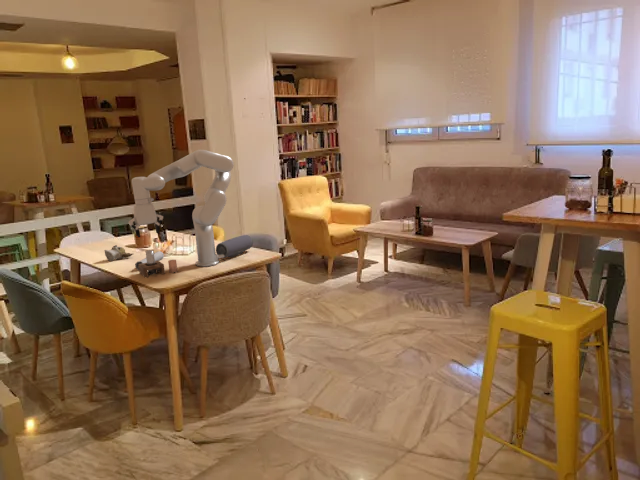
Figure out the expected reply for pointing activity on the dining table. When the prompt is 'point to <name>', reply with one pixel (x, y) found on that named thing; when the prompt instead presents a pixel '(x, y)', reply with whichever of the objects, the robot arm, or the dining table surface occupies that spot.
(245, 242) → the bluetooth speaker
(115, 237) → the dining table surface
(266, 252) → the dining table surface
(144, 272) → the walnut bridge
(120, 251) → the ceramic sculpture
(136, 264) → the tube
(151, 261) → the steel pin long
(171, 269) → the clay pin short
